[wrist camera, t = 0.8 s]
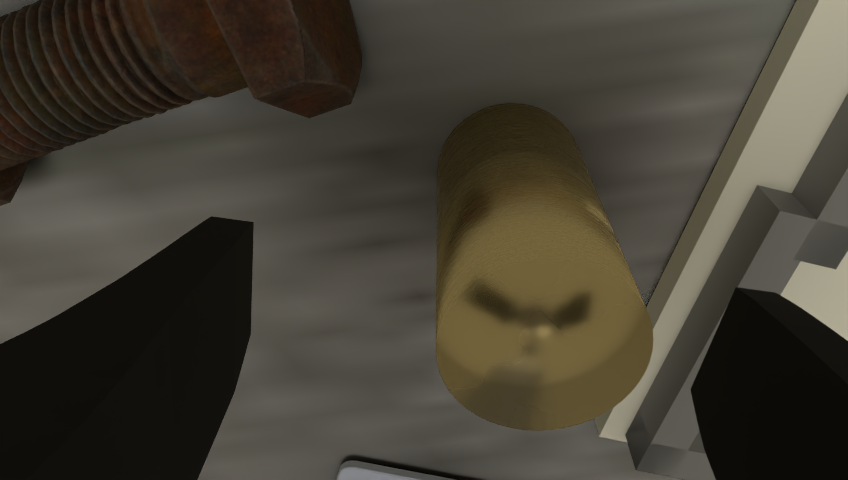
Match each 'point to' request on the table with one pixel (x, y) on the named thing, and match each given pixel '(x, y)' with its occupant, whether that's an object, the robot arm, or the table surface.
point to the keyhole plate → (752, 234)
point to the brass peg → (531, 277)
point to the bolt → (161, 65)
